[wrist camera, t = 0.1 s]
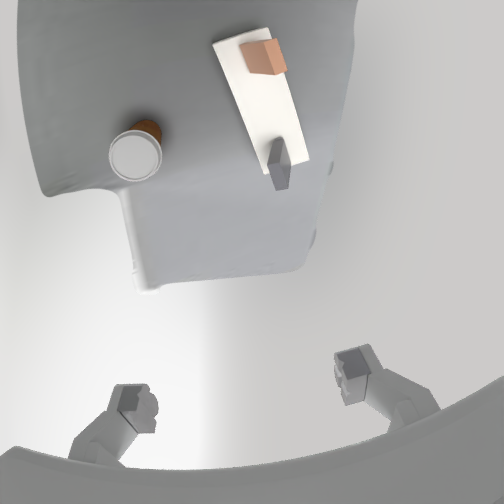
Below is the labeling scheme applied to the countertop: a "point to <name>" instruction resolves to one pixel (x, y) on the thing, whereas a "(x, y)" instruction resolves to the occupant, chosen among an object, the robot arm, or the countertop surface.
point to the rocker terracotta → (264, 57)
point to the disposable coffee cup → (137, 152)
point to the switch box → (261, 100)
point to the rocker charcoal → (279, 164)
